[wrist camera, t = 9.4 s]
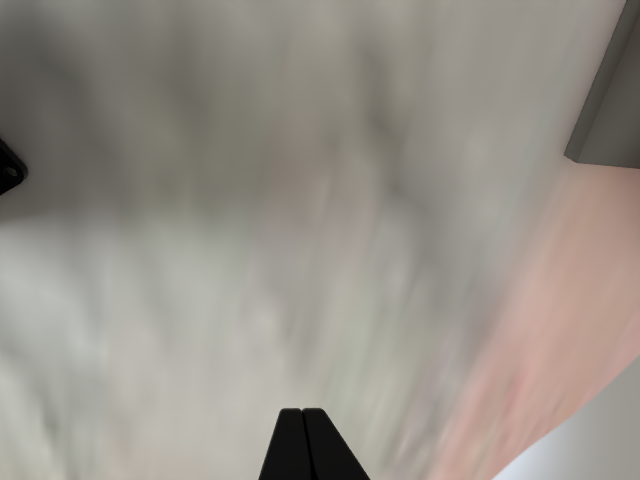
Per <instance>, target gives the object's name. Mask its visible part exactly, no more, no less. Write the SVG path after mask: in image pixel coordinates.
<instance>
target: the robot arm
mask: <svg viewBox="0 0 640 480" xmlns="http://www.w3.org/2000/svg"><path fill="white" fill-rule="evenodd" d="M8 167H9V168H12V169H14V170H15V171H16V173H17V176H14V175H12V174H10V173H9V172H8V170H7V168H8ZM27 176H28V169H27V167H26V166H25V164H24V163H23V162H22V161H21V160H20V159H19V158H18V157H17V155H16V154H15V153H14V152H13V151H12V150H11V149H10V148H9V147H8V146H7V145H6V144H5V143H4V142H3V141H2V140H1V139H0V195H2V194H3V193H5V192H7V191H9V190H10V189H12V188H14V187H15V186H17V185H19V184H20V183H21V182H22V181H23V180H24V179H25V178H27ZM258 480H370V478H369V477H368V475H367V474H366V472H365V471H364V469H363V468H362V466H361V465H360V463H359V462H358V460H357V459H356V457H355V456H354V454H353V453H352V451H351V450H350V448H349V447H348V445H347V444H346V442H345V441H344V439H343V438H342V436H341V435H340V433H339V432H338V430H337V429H336V427H335V426H334V424H333V423H332V421H331V420H330V418H329V417H328V415H327V414H326V412H325V411H324V410H323V409H321V408H304V409H303V410H302V411H301V409H299V408H284V409H281V411H280V413H279V416H278V419H277V422H276V425H275V428H274V432H273V435H272V438H271V441H270V444H269V447H268V451H267V454H266V457H265V460H264V463H263V466H262V470H261V473H260V476H259V479H258Z"/></svg>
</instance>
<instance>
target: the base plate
mask: <svg viewBox="0 0 640 480" xmlns="http://www.w3.org/2000/svg"><path fill="white" fill-rule="evenodd" d="M564 156H566V157H568V158H569V159H571V160H573V161H574V162H576V163H584V164H595V165H605V166H616V167H627V168H637V169H640V0H627V2H626V5H625V7H624V10H623V12H622V15H621V17H620V19H619V22H618V24H617V27H616V29H615V32H614V34H613V36H612V39H611V41H610V44H609V46H608V49H607V51H606V53H605V56H604V58H603V61H602V63H601V66H600V68H599V70H598V73H597V75H596V78H595V80H594V83H593V85H592V88H591V90H590V92H589V95H588V97H587V100H586V102H585V105H584V107H583V109H582V112H581V114H580V117H579V119H578V122H577V124H576V126H575V129H574V131H573V134H572V136H571V139H570V141H569V144H568V146H567V148H566V151H565V153H564Z"/></svg>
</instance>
